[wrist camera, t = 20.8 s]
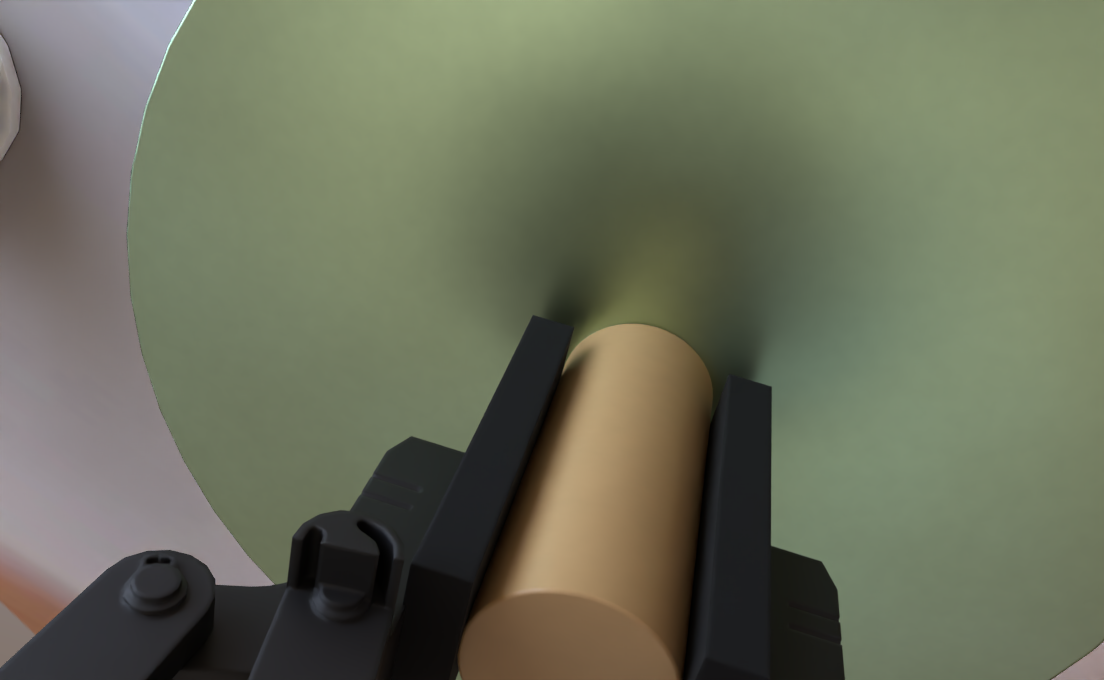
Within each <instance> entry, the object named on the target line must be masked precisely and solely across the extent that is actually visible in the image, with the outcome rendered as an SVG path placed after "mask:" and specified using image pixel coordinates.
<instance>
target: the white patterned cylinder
mask: <svg viewBox="0 0 1104 680" xmlns="http://www.w3.org/2000/svg"><path fill="white" fill-rule="evenodd" d="M20 104H21V88H20V85H19V81H18V78H17V75H16V71H15V68H14V65H13V61H12V58H11V55H10V51H9V48H8V45H7V43H6V42H5V40H4V39H3V37H2V36H1V34H0V160H2V159H3V157H4V156H5V154H6V152H7V150H8V149H9V147H10V145H11V143H12V142H13V140H14V138H15V136H16V135H17V133H18V131H19V122H20Z"/></svg>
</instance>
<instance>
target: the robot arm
mask: <svg viewBox="0 0 1104 680" xmlns="http://www.w3.org/2000/svg"><path fill="white" fill-rule="evenodd" d="M573 331H574V327H572V326H568V325H565V324H562V323H558V322H555V321H552V320H548V319H545V318H542V317H538V316H535V315H533V316H532V318H531V320H530V322H529V324H528V326H527V328H526V330H525V332H524V334H523V336H522V338H521V340H520V342H519V344H518V346H517V348H516V350H515V352H514V354H513V356H512V358H511V360H510V362H509V365H508V367H507V369H506V371H505V373H504V375H503V377H502V379H501V381H500V383H499V385H498V387H497V389H496V391H495V393H494V395H493V397H492V399H491V401H490V403H489V405H488V407H487V409H486V411H485V413H484V415H483V417H482V419H481V421H480V423H479V426H478V428H477V430H476V432H475V434H474V436H473V438H472V440H471V442H470V444H469V446H468V448H467V450H466V452H461V451H458V450H455V449H452V448H448V447H445V446H442V445H439V444H436V443H432V442H429V441H426V440H423V439H420V438H416V437H413V436H411V437H409V438H407V439H406V440H404V441H402V442H401V443H399V444H397V445H396V446H394V447H392V448H391V449H389V450H388V451H386V453H385V455H384V456H383V458H382V459H381V461H380V463H379V464H378V466H377V468H376V469H375V471H374V472H373V476H372V477H370V479H369V480H368V482H367V484H366V485H365V487H364V489H363V490H362V493H361V495H359V497H358V498H357V500H356V501H355V503H354V505H353V506H352V508H351V510H350V511H346V510H338V511H333V512H328V513H322V514H319V515H317V516H315V517H313V518H312V519H310V520H308V521H306V522H304V523H303V524H302V525H301V526H300V528H299V529H298V530H297V531H296V533H295V534H294V535H293V537H292V544H291V553H290V561H289V570H288V578H287V582H286V583H281V584H277V585H272V586H259V587H245V586H226V585H215V578H214V577H213V575H212V573H211V572H210V570H209V568H208V567H207V565H205V564H204V563H202V562H201V561H199V560H198V559H196V558H194V557H193V556H191V555H188V554H184V553H180V552H176V551H172V550H161V551H145V552H142V553H139V554H136V555H132V556H129V557H126V558H124V559H122V560H121V561H119V562H118V563H116V564H115V565H113V566H112V567H110V568H108V569H107V570H106V571H105V572H104V573H103V574H101V575H100V576H99V577H98V578H97V579H96V580H95V581H94V582H93V583H92V584H91V585H90V586H88V587H87V588H86V589H85V590H84V591H83V592H82V593H81V594H80V595H79V596H78V597H77V598H75V599H74V600H73V601H72V602H71V603H70V604H69V605H68V606H67V607H66V608H65V609H64V610H62V611H61V612H60V613H59V614H58V615H57V616H56V617H55V618H54V619H53V620H52V621H50V622H49V623H48V624H47V625H46V626H45V627H44V628H43V629H42V630H41V631H40V632H39V633H37V634H36V635H35V636H34V637H33V638H32V639H31V640H30V641H29V642H28V643H27V644H26V645H24V646H23V647H22V648H21V649H20V650H19V651H18V652H17V653H16V654H15V655H14V656H13V657H12V658H10V659H9V660H8V661H7V662H6V663H5V664H4V665H3V666H2V667H1V668H0V680H456V677H457V675H458V672H459V667H458V659H457V656H458V651H459V647H460V643H461V639H462V635H463V631H464V628H465V625H466V622H467V620H468V617H469V615H470V612H471V609H472V607H473V604H474V602H475V599H476V596H477V594H478V591H479V589H480V586H481V583H482V581H483V578H484V576H485V573H486V570H487V568H488V565H489V563H490V560H491V557H492V555H493V552H494V550H495V547H496V544H497V542H498V539H499V537H500V534H501V531H502V529H503V526H504V524H505V521H506V518H507V516H508V513H509V511H510V508H511V505H512V503H513V500H514V498H515V495H516V492H517V490H518V487H519V485H520V482H521V479H522V477H523V474H524V472H525V469H526V467H527V464H528V461H529V459H530V456H531V454H532V451H533V448H534V446H535V443H536V441H537V438H538V435H539V433H540V430H541V428H542V425H543V422H544V420H545V417H546V415H547V412H548V409H549V407H550V404H551V402H552V399H553V396H554V394H555V391H556V389H557V386H558V383H559V381H560V378H561V375H562V371H563V368H564V364H565V360H566V357H567V353H568V349H569V346H570V342H571V338H572V335H573ZM771 452H772V386H768V385H765V384H762V383H758V382H755V381H752V380H748V379H745V378H742V377H738V376H735V375H732V374H729V375H728V378H727V381H726V383H725V386H724V389H723V391H722V394H721V396H720V399H719V402H718V404H717V407H716V410H715V412H714V415H713V418H712V420H711V423H710V429H709V439H708V448H707V458H706V467H705V477H704V486H703V496H702V505H701V515H700V524H699V534H698V543H697V553H696V562H695V572H694V581H693V590H692V600H691V609H690V619H689V628H688V638H687V647H686V657H685V666H684V676H683V680H845V674H844V662H843V650H842V645H840V644H841V640H842V637H841V625H840V622H839V618H840V613H839V601H838V590H837V588H836V586H835V584H834V582H833V581H832V579H831V577H830V575H829V573H828V572H827V570H826V568H825V566H824V564H823V563H822V561H819V560H816V559H812V558H809V557H806V556H803V555H800V554H796V553H793V552H790V551H787V550H783V549H780V548H777V547H774V546H771Z"/></svg>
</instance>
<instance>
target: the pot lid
mask: <svg viewBox="0 0 1104 680" xmlns="http://www.w3.org/2000/svg"><path fill="white" fill-rule="evenodd" d="M127 250H128V265H129V280H130V296H131V301H132V306H133V311H134V316H135V321H136V326H137V331H138V337H139V342H140V347H141V352H142V356H143V359H144V362H145V365H146V368H147V371H148V374H149V377H150V380H151V383H152V386H153V389H154V392H155V395H156V399H157V402H158V405H159V408H160V411H161V413H162V415H163V417H164V419H165V421H166V423H167V426H168V428H169V430H170V432H171V434H172V436H173V439H174V441H175V443H176V445H177V447H178V449H179V452H180V454H181V456H182V458H183V460H184V462H185V464H186V466H187V467H188V469H189V471H190V472H191V474H192V476H193V477H194V479H195V480H196V482H197V484H198V485H199V487H200V489H201V490H202V492H203V494H204V495H205V497H206V499H207V500H208V502H209V504H210V505H211V507H212V509H213V510H214V512H215V513H216V514H217V516H218V517H219V518H220V520H221V521H222V522H223V523H224V525H225V526H226V527H227V529H228V530H229V531H230V533H231V534H232V535H233V537H234V538H235V539H236V541H237V542H238V543H239V545H240V546H241V547H242V548H243V550H244V551H245V552H246V554H247V555H248V556H249V557H250V558H251V559H252V561H253V562H254V563H255V564H256V565H257V566H258V567H259V568H260V569H261V570H262V571H263V572H264V573H265V574H266V576H267V577H268V578H269V579H270V580H271V581H272V582H273V583H274V584H275V585H277V584H281V583H286V582H287V578H288V570H289V561H290V553H291V544H292V537H293V535H294V534H295V533H296V531H297V530H298V529H299V528H300V526H301V525H302V524H303V523H304V522H306V521H308V520H310V519H312V518H313V517H315V516H317V515H319V514H322V513H328V512H333V511H338V510H346V511H350V510H351V508H352V506H353V505H354V503H355V501H356V500H357V498H358V497H359V495H361V493H362V490H363V489H364V487H365V485H366V484H367V482H368V480H369V479H370V477H372V476H373V472H374V471H375V469H376V468H377V466H378V464H379V463H380V461H381V459H382V458H383V456H384V455H385V453H386V451H388V450H389V449H391V448H392V447H394V446H396V445H397V444H399V443H401V442H402V441H404V440H406V439H407V438H409V437H411V436H413V437H416V438H420V439H423V440H426V441H429V442H432V443H436V444H439V445H442V446H445V447H448V448H452V449H455V450H458V451H461V452H466V450H467V448H468V446H469V444H470V442H471V440H472V438H473V436H474V434H475V432H476V430H477V428H478V426H479V423H480V421H481V419H482V417H483V415H484V413H485V411H486V409H487V407H488V405H489V403H490V401H491V399H492V397H493V395H494V393H495V391H496V389H497V387H498V385H499V383H500V381H501V379H502V377H503V375H504V373H505V371H506V369H507V367H508V365H509V362H510V360H511V358H512V356H513V354H514V352H515V350H516V348H517V346H518V344H519V342H520V340H521V338H522V336H523V334H524V332H525V330H526V328H527V326H528V324H529V322H530V320H531V318H532V316H533V315H535V316H538V317H542V318H545V319H548V320H552V321H555V322H558V323H562V324H565V325H568V326H572V327H574V331H573V335H572V338H571V342H570V346H569V349H568V353H567V357H566V360H565V364H564V368H563V371H562V375H561V378H560V381H559V383H558V386H557V389H556V391H555V394H554V396H553V399H552V402H551V404H550V407H549V409H548V412H547V415H546V417H545V420H544V422H543V425H542V428H541V430H540V433H539V435H538V438H537V441H536V443H535V446H534V448H533V451H532V454H531V456H530V459H529V461H528V464H527V467H526V469H525V472H524V474H523V477H522V479H521V482H520V485H519V487H518V490H517V492H516V495H515V498H514V500H513V503H512V505H511V508H510V511H509V513H508V516H507V518H506V521H505V524H504V526H503V529H502V531H501V534H500V537H499V539H498V542H497V544H496V547H495V550H494V552H493V555H492V557H491V560H490V563H489V565H488V568H487V570H486V573H485V576H484V578H483V581H482V583H481V586H480V589H479V591H478V594H477V596H476V599H475V602H474V604H473V607H472V609H471V612H470V615H469V617H468V620H467V622H466V625H465V628H464V631H463V635H462V639H461V643H460V647H459V651H458V656H457V659H458V667H459V672H458V675H457V677H456V680H683V676H684V666H685V657H686V647H687V638H688V628H689V619H690V609H691V600H692V590H693V581H694V572H695V562H696V553H697V543H698V534H699V524H700V515H701V505H702V496H703V486H704V477H705V467H706V458H707V448H708V439H709V429H710V423H711V420H712V418H713V415H714V412H715V410H716V407H717V404H718V402H719V399H720V396H721V394H722V391H723V389H724V386H725V383H726V381H727V378H728V375H729V374H732V375H735V376H738V377H742V378H745V379H748V380H752V381H755V382H758V383H762V384H765V385H768V386H772V452H771V546H774V547H777V548H780V549H783V550H787V551H790V552H793V553H796V554H800V555H803V556H806V557H809V558H812V559H816V560H819V561H822V563H823V564H824V566H825V568H826V570H827V572H828V573H829V575H830V577H831V579H832V581H833V582H834V584H835V586H836V588H837V590H838V601H839V613H840V618H839V622H840V625H841V637H842V640H841V644H840V645H842V650H843V662H844V674H845V680H1051V679H1053V678H1054V677H1056V676H1057V675H1059V674H1060V673H1061V672H1063V671H1064V670H1066V669H1067V668H1069V667H1070V666H1072V665H1073V664H1074V663H1076V662H1077V661H1079V660H1080V659H1082V658H1083V657H1085V656H1086V655H1087V654H1089V653H1090V652H1092V651H1093V650H1094V649H1095V648H1097V647H1098V646H1099V645H1100V644H1101V643H1102V642H1103V641H1104V0H193V2H192V3H191V5H190V7H189V9H188V11H187V12H186V14H185V16H184V18H183V20H182V21H181V23H180V25H179V27H178V28H177V30H176V32H175V34H174V36H173V37H172V39H171V41H170V43H169V45H168V48H167V50H166V53H165V56H164V58H163V61H162V64H161V66H160V69H159V72H158V74H157V77H156V80H155V82H154V85H153V88H152V90H151V93H150V96H149V98H148V101H147V104H146V106H145V110H144V114H143V119H142V123H141V128H140V133H139V137H138V142H137V147H136V151H135V156H134V161H133V165H132V170H131V179H130V193H129V207H128V222H127Z"/></svg>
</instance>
